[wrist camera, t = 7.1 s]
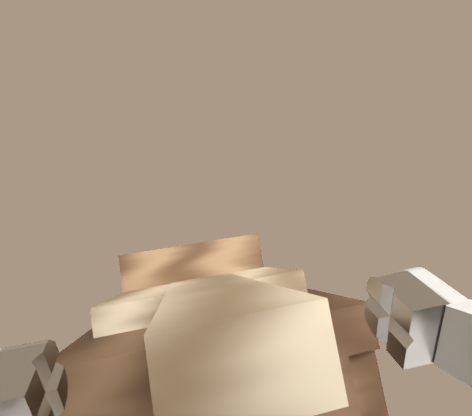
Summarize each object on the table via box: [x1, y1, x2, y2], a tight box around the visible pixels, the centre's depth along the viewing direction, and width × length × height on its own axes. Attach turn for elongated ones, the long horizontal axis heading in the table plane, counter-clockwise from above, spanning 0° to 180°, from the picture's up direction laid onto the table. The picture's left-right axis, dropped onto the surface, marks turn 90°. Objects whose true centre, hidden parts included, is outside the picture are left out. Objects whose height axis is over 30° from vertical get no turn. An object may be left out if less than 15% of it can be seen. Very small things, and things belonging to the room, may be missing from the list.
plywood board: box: [90, 234, 349, 416], centre depth 20 cm, size 12×28×4 cm, turn 9°
